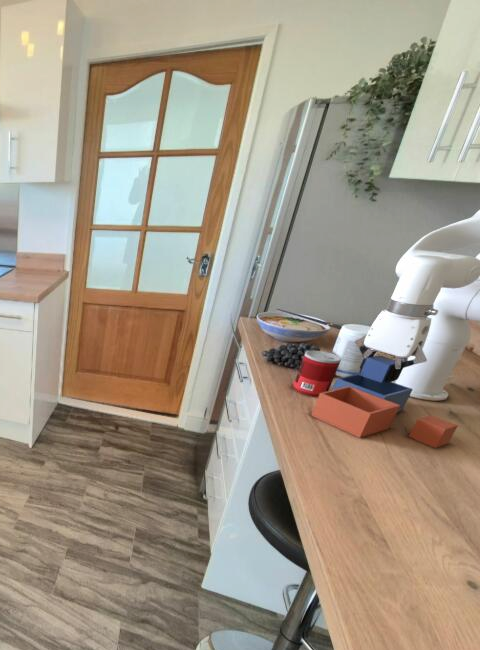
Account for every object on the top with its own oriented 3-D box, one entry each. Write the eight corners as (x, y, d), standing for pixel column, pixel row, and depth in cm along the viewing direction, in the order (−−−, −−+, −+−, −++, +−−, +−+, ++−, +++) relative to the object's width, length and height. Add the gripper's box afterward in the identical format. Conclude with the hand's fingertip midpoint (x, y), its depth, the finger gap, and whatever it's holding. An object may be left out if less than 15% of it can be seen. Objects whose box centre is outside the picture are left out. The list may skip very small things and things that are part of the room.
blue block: (371, 372, 114) (379, 355, 112) (393, 380, 110) (402, 362, 108) (359, 375, 113) (366, 357, 110) (381, 383, 108) (389, 364, 106)
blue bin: (354, 392, 122) (363, 372, 119) (401, 411, 112) (412, 389, 109) (327, 399, 118) (336, 378, 115) (374, 419, 109) (385, 396, 106)
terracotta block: (420, 432, 103) (430, 414, 101) (447, 443, 99) (458, 425, 96) (408, 436, 101) (417, 418, 99) (435, 448, 97) (445, 429, 95)
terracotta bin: (339, 407, 114) (348, 385, 111) (389, 428, 105) (400, 405, 102) (310, 415, 110) (319, 393, 108) (359, 437, 101) (370, 414, 98)
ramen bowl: (234, 331, 169) (240, 311, 165) (281, 326, 174) (288, 306, 170) (291, 354, 147) (299, 332, 143) (343, 348, 152) (352, 326, 148)
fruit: (266, 336, 137) (325, 345, 129) (267, 337, 144) (323, 346, 135) (258, 362, 139) (315, 373, 130) (259, 362, 146) (314, 372, 137)
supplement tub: (372, 378, 130) (393, 332, 123) (347, 381, 128) (367, 335, 121) (340, 366, 138) (358, 322, 132) (317, 368, 136) (334, 324, 130)
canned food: (332, 398, 119) (347, 362, 114) (300, 395, 120) (313, 359, 115) (318, 386, 125) (331, 351, 120) (287, 383, 127) (300, 349, 122)
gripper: (463, 317, 97) (426, 388, 105) (376, 298, 112) (349, 362, 120) (444, 320, 95) (407, 393, 103) (358, 301, 109) (331, 366, 117)
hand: (376, 376), depth 111 cm, fingers closed on blue block, 5 cm apart
